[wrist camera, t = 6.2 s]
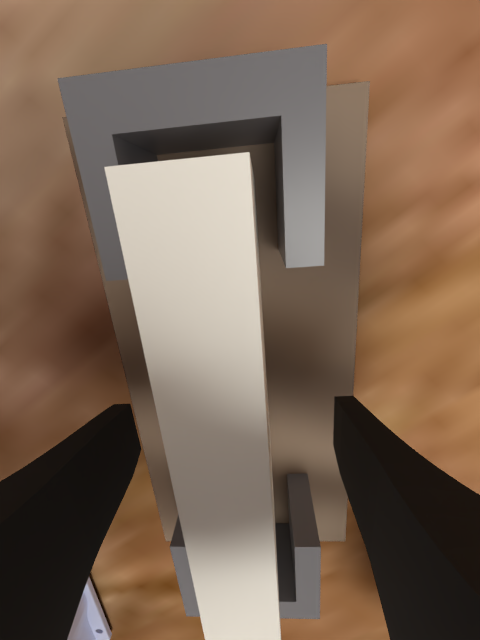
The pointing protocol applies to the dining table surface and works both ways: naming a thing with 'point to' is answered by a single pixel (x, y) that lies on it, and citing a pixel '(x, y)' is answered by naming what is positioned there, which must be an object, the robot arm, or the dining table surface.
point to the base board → (281, 322)
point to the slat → (207, 373)
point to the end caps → (213, 133)
